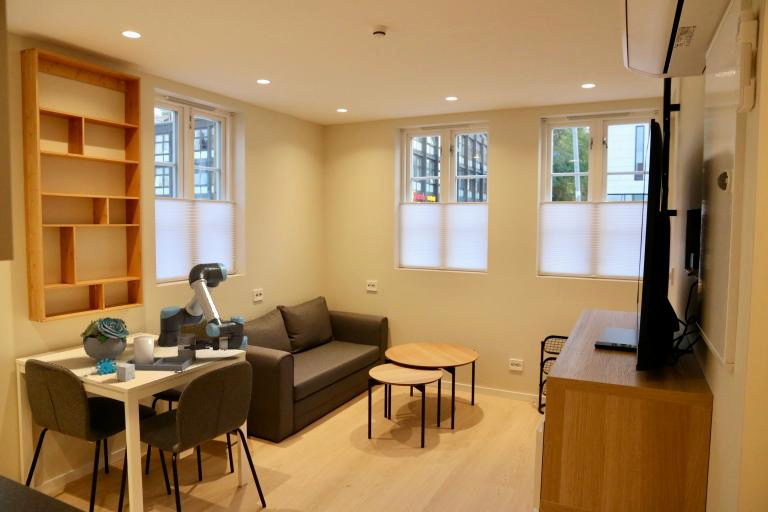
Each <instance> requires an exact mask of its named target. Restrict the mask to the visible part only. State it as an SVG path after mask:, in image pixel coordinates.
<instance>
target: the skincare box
mask: <svg viewBox="0 0 768 512" xmlns="http://www.w3.org/2000/svg"><path fill="white" fill-rule="evenodd" d="M115 366H116V372H115V373H116V374H115V375H116V381H118V380H120V381H119V382H125V381H126V382H129V381H131V380H130V379H132V380H134V379H136V374H135V373H136V370H135V364H128V363H126V362H125V363H122V364H119V365H115ZM128 380H129V381H128Z"/></svg>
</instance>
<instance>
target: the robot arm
mask: <svg viewBox="0 0 768 512" xmlns="http://www.w3.org/2000/svg"><path fill="white" fill-rule="evenodd" d="M188 274H189V275H188V284H189V286H190V287H189V288H191V289H192V290H193V291H194V294H193V296H192V298H191V300H190V301H188V302H187V303H186V304H185V306H184V307H180V306H176V305H175V306H174V305H173V306H167V307H164V308H162V309H161V310H160V313H159V319H160V320H159V321H160V322H159V326H160V327H159V329H160V330H159V335H158V338H157V341H156V343H157V344H156V345H157V346H158V345H159V346H158V347H164V346H167V347H169V348H170V347H177V351H178V350H191V351H194V350H196V351H201V350H202V351H203V350H210V349H211V348H212V351H215V352H216V351H219V350H220V351H224V352H226V351H232V350H234V351H235V350H238V351H240V350H245V349H247V348H248V336H246V335H244V334H245V333H244V330H245V329H244V328H245V320H244V316H241V315H235V316H234V315H233V316H231V317H230V320H226V321H225V320H224V321H222V318H221V315H220V314H219V312H218V309H217V306H216V305H215V302H214V300H213V297H212V295H211V294H212V292H213V290H214V289H215V288H217V287H218V286H219V284H220V283H221V282H222V283H223V282H225V281H227V279H228V270H227V267H226V265H225V264H224V263H222V262H211V263H209V262H208V263H197V264H196V265H194V266H193V267H192V268H191V270H190V271H189V273H188ZM204 319H205V320H206V323H207V325H206V326H205V333H206V334H207V336H208V337H210V338H212V340H210V338H209V339H207V338H206V339H202V338H201V339H200V338H199V339H197V338H196V344H195V345H192V344H190V345H178V337H177V336H178V335H180V334H182V333H181V327H187V326H195V325H199V324H202V322H203V321H204ZM224 335H225V336H224ZM226 335H229V336H226ZM219 336H220V337H219ZM167 347H166V348H167Z"/></svg>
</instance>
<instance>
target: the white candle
mask: <svg viewBox="0 0 768 512" xmlns="http://www.w3.org/2000/svg"><path fill="white" fill-rule="evenodd" d="M154 357H155V337H154V336H152V335H151V336H150V335H140V336H137V337H133V358H134V364H135V365H153V364H154Z"/></svg>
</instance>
